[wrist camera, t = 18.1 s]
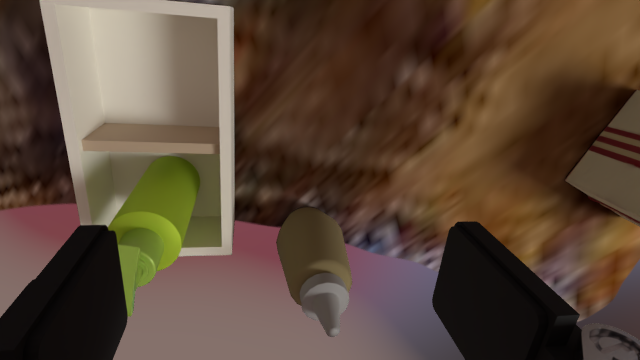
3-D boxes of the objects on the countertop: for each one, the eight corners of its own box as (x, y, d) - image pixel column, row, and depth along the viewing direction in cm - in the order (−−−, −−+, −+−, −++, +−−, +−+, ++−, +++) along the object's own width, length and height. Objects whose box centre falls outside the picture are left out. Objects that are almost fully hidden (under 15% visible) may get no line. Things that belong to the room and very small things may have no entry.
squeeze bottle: (261, 226, 48) (266, 336, 32) (309, 185, 47) (339, 277, 30) (303, 263, 51) (327, 379, 35) (348, 225, 50) (395, 327, 34)
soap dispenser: (205, 152, 42) (171, 255, 24) (196, 207, 44) (159, 338, 26) (148, 142, 41) (67, 243, 22) (142, 199, 43) (64, 332, 25)
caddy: (78, -7, 35) (37, -12, 28) (233, 8, 38) (229, 6, 31) (112, 221, 44) (86, 258, 37) (234, 220, 47) (231, 254, 40)
